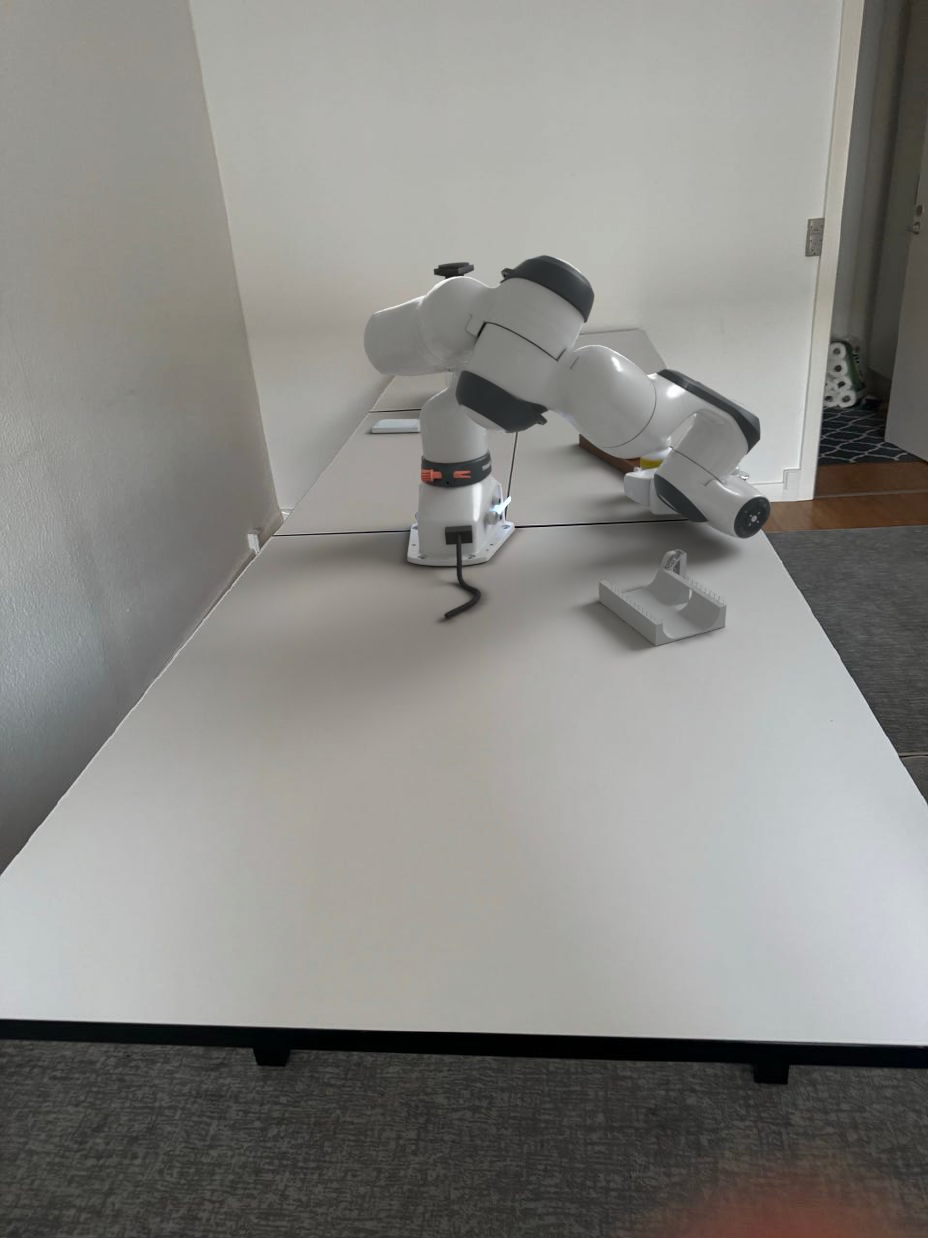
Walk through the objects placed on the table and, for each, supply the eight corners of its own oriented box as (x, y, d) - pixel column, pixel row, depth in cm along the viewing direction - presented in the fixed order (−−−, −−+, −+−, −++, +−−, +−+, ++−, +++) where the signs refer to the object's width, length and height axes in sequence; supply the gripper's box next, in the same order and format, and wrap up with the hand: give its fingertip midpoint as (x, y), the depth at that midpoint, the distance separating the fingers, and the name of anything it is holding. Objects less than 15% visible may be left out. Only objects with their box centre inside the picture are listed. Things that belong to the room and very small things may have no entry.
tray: (701, 473, 165) (701, 461, 164) (643, 484, 163) (643, 472, 162) (629, 435, 193) (629, 425, 191) (579, 444, 190) (578, 433, 189)
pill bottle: (673, 500, 154) (675, 441, 149) (639, 501, 155) (640, 442, 150) (673, 489, 159) (675, 432, 154) (640, 489, 160) (640, 433, 155)
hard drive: (371, 427, 213) (418, 426, 210) (381, 418, 220) (426, 417, 217) (372, 433, 214) (418, 432, 211) (382, 425, 221) (427, 423, 218)
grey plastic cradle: (599, 600, 121) (598, 568, 118) (678, 580, 125) (679, 548, 122) (655, 646, 108) (656, 611, 106) (741, 622, 112) (744, 587, 110)
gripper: (756, 460, 142) (712, 440, 154) (646, 480, 138) (610, 458, 149) (753, 495, 145) (710, 473, 157) (645, 516, 140) (610, 492, 152)
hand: (660, 466), depth 153 cm, fingers open, 8 cm apart
